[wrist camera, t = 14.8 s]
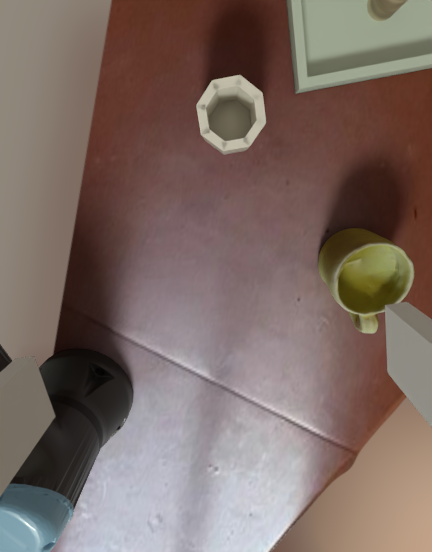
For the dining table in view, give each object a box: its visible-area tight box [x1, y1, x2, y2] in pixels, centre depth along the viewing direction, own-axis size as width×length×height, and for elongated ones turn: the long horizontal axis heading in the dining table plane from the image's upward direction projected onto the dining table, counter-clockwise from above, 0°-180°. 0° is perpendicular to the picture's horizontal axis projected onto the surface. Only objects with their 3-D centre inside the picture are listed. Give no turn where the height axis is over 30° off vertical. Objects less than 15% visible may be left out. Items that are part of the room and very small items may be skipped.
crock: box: [196, 75, 266, 154], centre depth 39 cm, size 7×7×8 cm
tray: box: [286, 0, 432, 94], centre depth 38 cm, size 20×14×2 cm
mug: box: [318, 228, 415, 333], centre depth 44 cm, size 12×10×10 cm
